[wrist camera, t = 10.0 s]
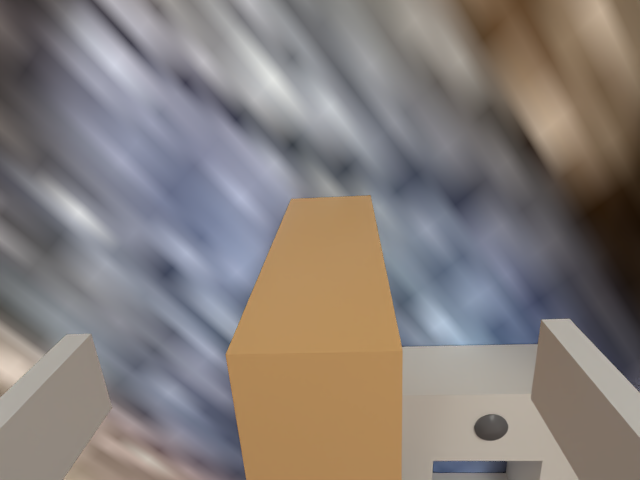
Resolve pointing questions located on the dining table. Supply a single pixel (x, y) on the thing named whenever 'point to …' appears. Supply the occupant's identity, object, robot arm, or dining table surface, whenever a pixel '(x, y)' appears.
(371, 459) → the plug
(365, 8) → the dining table surface
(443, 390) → the socket plate
